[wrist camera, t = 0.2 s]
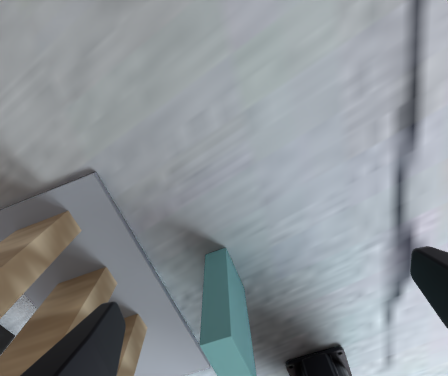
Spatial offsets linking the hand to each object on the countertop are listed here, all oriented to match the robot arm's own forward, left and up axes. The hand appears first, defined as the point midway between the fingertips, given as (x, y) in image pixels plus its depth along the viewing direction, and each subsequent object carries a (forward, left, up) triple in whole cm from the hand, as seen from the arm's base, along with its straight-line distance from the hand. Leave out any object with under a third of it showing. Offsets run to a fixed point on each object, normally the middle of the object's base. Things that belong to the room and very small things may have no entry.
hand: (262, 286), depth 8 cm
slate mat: (-9, +16, -14) cm, 23 cm away
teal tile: (-10, +4, -14) cm, 18 cm away
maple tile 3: (-6, +16, -13) cm, 22 cm away
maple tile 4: (0, +16, -13) cm, 21 cm away
